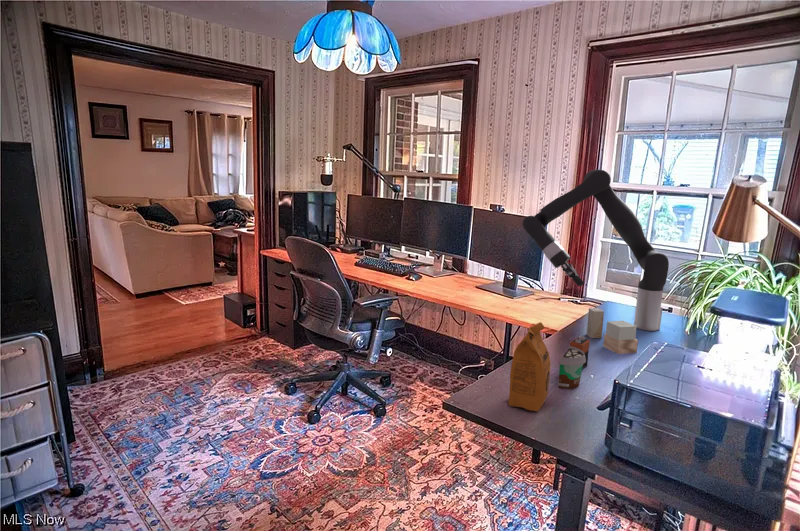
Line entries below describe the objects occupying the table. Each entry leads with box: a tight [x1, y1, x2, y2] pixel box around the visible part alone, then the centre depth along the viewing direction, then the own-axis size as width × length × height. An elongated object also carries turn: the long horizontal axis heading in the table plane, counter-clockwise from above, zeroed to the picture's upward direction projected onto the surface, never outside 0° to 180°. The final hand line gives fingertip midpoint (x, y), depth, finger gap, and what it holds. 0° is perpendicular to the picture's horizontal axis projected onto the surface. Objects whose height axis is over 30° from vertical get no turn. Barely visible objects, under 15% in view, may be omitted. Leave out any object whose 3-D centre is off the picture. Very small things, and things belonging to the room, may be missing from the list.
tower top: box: [605, 320, 638, 340], centre depth 167 cm, size 7×7×5 cm
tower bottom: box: [602, 333, 639, 355], centre depth 168 cm, size 8×8×5 cm
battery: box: [569, 335, 590, 370], centre depth 150 cm, size 4×7×10 cm, turn 139°
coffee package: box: [507, 322, 552, 412], centre depth 123 cm, size 10×12×22 cm
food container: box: [557, 345, 586, 390], centre depth 136 cm, size 12×6×10 cm, turn 148°
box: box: [586, 307, 605, 339], centre depth 182 cm, size 5×4×11 cm
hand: (581, 284), depth 186 cm, fingers open, 8 cm apart
